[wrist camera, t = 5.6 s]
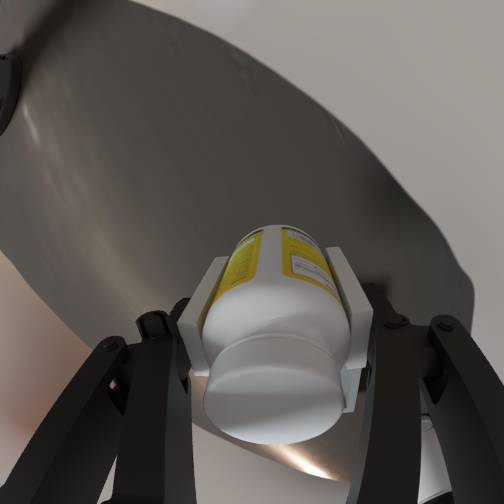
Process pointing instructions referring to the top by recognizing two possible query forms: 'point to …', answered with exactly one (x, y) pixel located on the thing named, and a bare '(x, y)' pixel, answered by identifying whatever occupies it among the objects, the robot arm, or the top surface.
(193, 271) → the top surface
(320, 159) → the top surface
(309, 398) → the supplement bottle
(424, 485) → the travel mug
